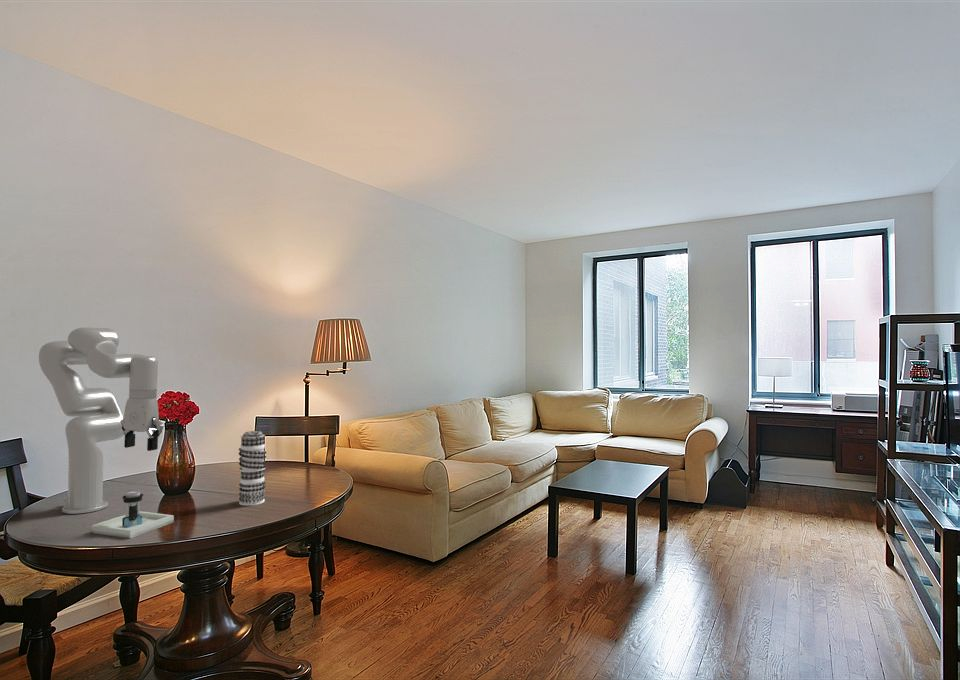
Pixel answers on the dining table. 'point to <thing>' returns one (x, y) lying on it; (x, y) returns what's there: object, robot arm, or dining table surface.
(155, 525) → the tray
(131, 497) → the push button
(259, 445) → the decorative candle
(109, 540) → the dining table surface
